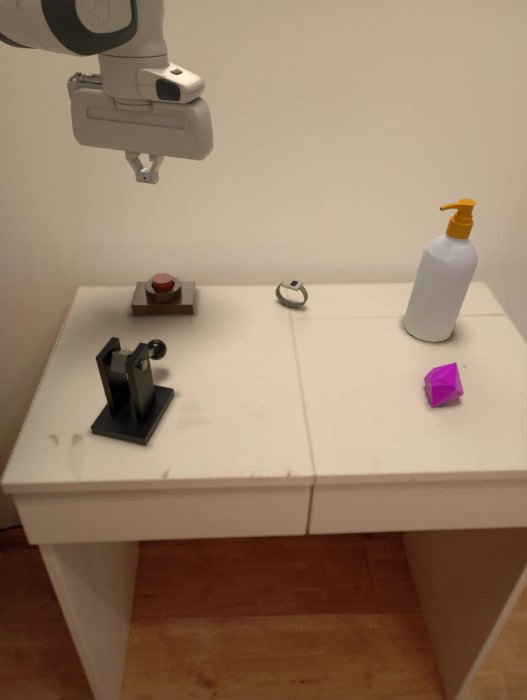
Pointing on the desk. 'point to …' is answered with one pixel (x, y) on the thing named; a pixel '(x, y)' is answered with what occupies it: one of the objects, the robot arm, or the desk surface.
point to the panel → (164, 299)
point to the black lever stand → (130, 396)
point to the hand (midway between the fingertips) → (147, 182)
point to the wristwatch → (293, 286)
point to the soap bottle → (443, 278)
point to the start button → (162, 282)
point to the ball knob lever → (120, 357)
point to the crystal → (443, 384)
